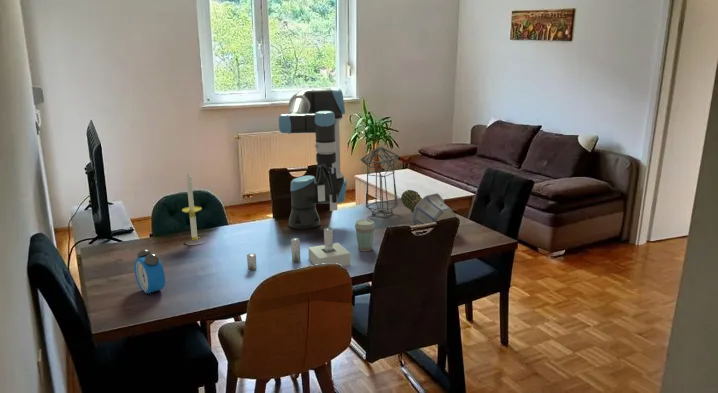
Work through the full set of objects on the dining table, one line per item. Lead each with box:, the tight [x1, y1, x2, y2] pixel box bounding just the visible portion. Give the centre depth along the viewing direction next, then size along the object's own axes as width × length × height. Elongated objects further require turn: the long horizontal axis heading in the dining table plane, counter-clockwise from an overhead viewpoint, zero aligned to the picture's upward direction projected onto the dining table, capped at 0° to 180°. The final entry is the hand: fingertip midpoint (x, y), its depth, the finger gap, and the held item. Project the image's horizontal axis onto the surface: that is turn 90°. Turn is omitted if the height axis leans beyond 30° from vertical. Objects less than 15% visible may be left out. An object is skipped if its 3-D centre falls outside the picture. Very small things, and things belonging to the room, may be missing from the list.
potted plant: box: [400, 189, 457, 226], centre depth 264 cm, size 18×18×30 cm
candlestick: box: [181, 171, 203, 240], centre depth 247 cm, size 10×10×32 cm
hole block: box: [308, 242, 351, 267], centre depth 226 cm, size 13×13×5 cm
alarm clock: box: [133, 248, 166, 294], centre depth 201 cm, size 13×6×15 cm, turn 43°
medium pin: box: [290, 237, 301, 264], centre depth 226 cm, size 3×3×10 cm
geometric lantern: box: [360, 146, 401, 219], centre depth 282 cm, size 16×16×35 cm
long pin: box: [323, 227, 334, 253], centre depth 225 cm, size 3×3×14 cm
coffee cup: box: [354, 219, 376, 252], centre depth 239 cm, size 9×8×12 cm
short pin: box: [246, 253, 258, 272], centre depth 220 cm, size 3×3×6 cm
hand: (327, 205), depth 221 cm, fingers open, 13 cm apart
